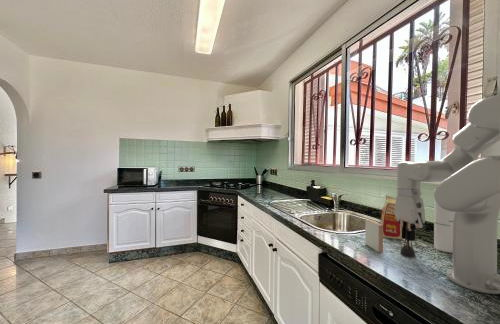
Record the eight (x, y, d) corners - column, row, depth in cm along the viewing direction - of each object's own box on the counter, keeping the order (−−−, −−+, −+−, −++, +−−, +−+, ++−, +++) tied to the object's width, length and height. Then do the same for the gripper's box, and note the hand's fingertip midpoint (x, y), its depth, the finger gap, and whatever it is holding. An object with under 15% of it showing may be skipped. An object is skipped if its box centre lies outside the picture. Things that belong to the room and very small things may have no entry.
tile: (382, 252, 90) (383, 225, 90) (378, 252, 90) (378, 225, 90) (369, 244, 99) (369, 219, 99) (365, 244, 99) (365, 219, 99)
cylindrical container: (461, 253, 89) (461, 191, 89) (440, 251, 90) (441, 190, 90) (449, 246, 96) (449, 188, 96) (430, 245, 97) (430, 188, 97)
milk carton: (382, 236, 108) (382, 196, 108) (380, 231, 116) (380, 193, 116) (404, 239, 104) (404, 197, 104) (400, 233, 112) (401, 194, 112)
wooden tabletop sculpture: (420, 258, 84) (422, 206, 84) (409, 258, 84) (410, 206, 83) (408, 251, 90) (409, 202, 89) (397, 251, 90) (398, 203, 89)
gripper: (435, 196, 80) (435, 246, 80) (402, 189, 95) (401, 232, 95) (416, 196, 79) (416, 247, 79) (385, 190, 95) (385, 233, 95)
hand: (408, 239), depth 87 cm, fingers closed on wooden tabletop sculpture, 1 cm apart
